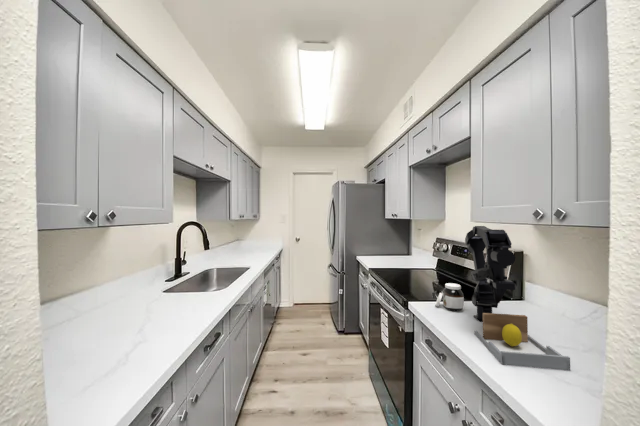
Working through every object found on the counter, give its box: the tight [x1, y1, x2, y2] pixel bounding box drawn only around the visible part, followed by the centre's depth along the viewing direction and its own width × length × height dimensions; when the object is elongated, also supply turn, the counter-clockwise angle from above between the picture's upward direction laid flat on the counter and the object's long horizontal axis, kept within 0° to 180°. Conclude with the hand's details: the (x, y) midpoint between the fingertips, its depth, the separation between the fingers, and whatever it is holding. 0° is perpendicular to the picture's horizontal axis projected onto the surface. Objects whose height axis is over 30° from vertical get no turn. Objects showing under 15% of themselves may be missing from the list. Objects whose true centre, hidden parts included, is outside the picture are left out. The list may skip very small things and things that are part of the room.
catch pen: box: [473, 330, 571, 371], centre depth 89 cm, size 21×18×4 cm
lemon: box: [502, 324, 522, 348], centre depth 91 cm, size 6×6×8 cm
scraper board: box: [482, 312, 529, 343], centre depth 96 cm, size 2×14×9 cm, turn 80°
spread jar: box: [435, 282, 465, 312], centre depth 129 cm, size 12×11×12 cm
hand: (497, 302), depth 101 cm, fingers closed
